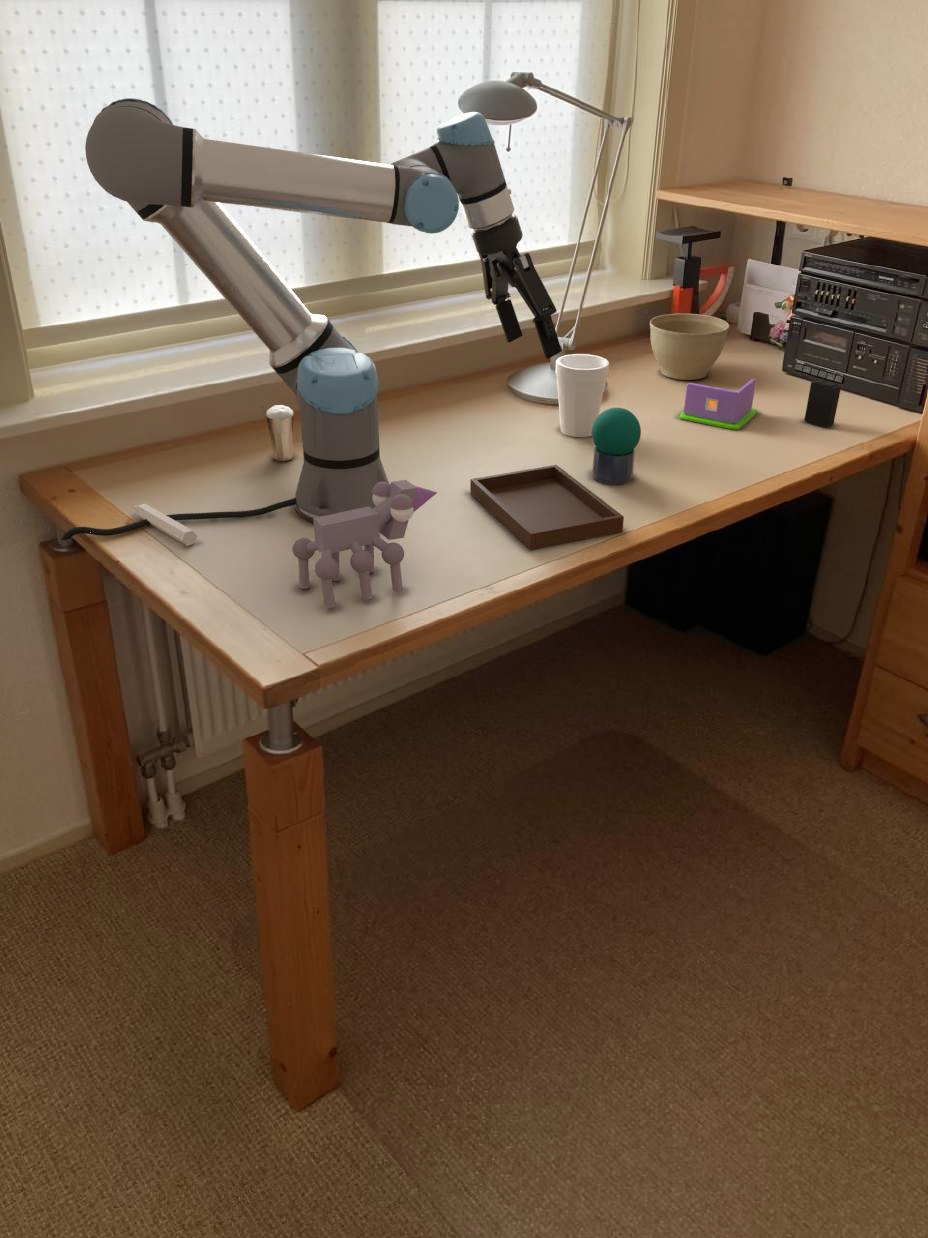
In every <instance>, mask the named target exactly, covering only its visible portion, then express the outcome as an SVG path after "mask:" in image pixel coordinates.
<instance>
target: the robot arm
mask: <svg viewBox="0 0 928 1238" xmlns="http://www.w3.org/2000/svg"><path fill="white" fill-rule="evenodd" d="M436 136H437V139H436V140H437V142H435V143H433V145H431V146H429V147H427V148H424V149H422V150H420V151H417V152H414V153H413V154H410V155H408V156H406V157H403V158H400V159H399V160H396V161H394V162H391V163H379V162H372V161H365V160H357V159H351V158H343V157H338V156H329V155H323V154H322V155H321V154H316V153H309V152H301V151H293V150H287V149H280V148H273V147H265V146H259V145H251V144H244V143H236V142H229V141H223V140H215V139H208V138H205V137H203V136H202V135H201V133H200V132H199V131H198V130H197V129H196V128H191V127H184V126H179V125H175V124H174V123H173V121H172V120H171V118H170V117H169V116H168V115H167V114H166V113H165V112H164V111H163V110H162V109H160V108H158V107H157V105H155V104H153V103H152V102H151V103H150V102H149V101H146V100H143V99H140V98H132V97H131V98H122V99H117V100H115V101H112V102H111V103H109V104H108V105H107V106H105V107H103V108H102V109H101V110H100V112H99V113H97V115H96V116H95V117H94V120H93V122H92V124H91V126H90V128H89V129H88V132H87V135H86V138H85V144H84V148H85V149H84V151H85V159H86V163H87V167H88V170H89V172H90V173H91V175H92V176H93V179H94V180H95V181H96V183H97V184H98V185H99V186H100V187H101V188H102V189H103V190H104V191H105V192H107V193H108V194H109V195H111V196H112V197H114V198H117V199H119V200H121V201H123V202H126V203H127V204H128V205H129V206H130V207H131V209H133V211H134V212H135V213H136V214H137V215H138V216H139V217H140V218H141V219H142V221H143V222H147V223H148V222H149V223H156V224H159V225H161V227H162V228H163V229H164V230H165V231H166V232H167V234H168V235H169V236H170V237H171V238H172V239H173V240H174V242H175V243H176V244H177V245H178V246H179V247H180V248H181V250H182V251H183V252H184V253H185V255H187V257H188V258H189V259H190V260H191V261H192V262H193V264H194V265H195V266H196V267H197V269H199V270H200V271H201V273H202V274H203V275H204V276H205V278H206V279H207V280H208V281H209V282H210V283H211V284H212V285H213V287H214V288H215V289H216V290H217V291H218V293H219V294H221V296H222V297H223V298H224V299H225V301H226V302H227V303H228V304H229V305H230V306H231V307H232V308H233V310H234V311H235V312H236V313H237V314H238V316H240V318H241V319H242V320H243V321H244V323H245V324H246V325H247V326H248V327H249V328H250V329H251V330H252V332H253V333H254V334H255V335H256V337H258V339H259V340H260V341H261V342H262V344H264V346H265V347H266V348H267V349H268V350H269V357H268V364H269V366H270V367H271V368H272V370H274V372H275V373H276V374H277V375H278V376H279V378H280V379H281V380H282V381H283V382H284V383H285V384H286V385H287V387H288V388H289V389H290V390H291V391H292V392H293V394H294V395H295V398H296V402H297V405H298V410H299V416H300V426H301V427H300V429H301V441H302V453H303V464H302V467H301V471H300V474H299V478H298V482H297V485H296V490H295V495H294V497H293V498H290V499H287V500H283V501H280V502H276V503H273V504H270V505H267V506H264V507H260V508H255V509H248V510H239V511H238V510H236V511H235V510H233V511H208V512H188V513H172V514H165V515H166V516H168V517H170V518H171V519H173V520H175V521H189V520H190V521H193V520H211V519H212V520H213V519H238V518H251V517H256V516H262V515H265V514H268V513H272V512H275V511H277V510H280V509H281V510H282V509H285V508H288V507H292V506H295V511H296V513H297V514H298V515H299V516H300V517H301V518H302V519H305V520H306V521H308V522H310V523H314V521H313V518H317V517H322V516H326V515H331V514H336V513H340V512H345V511H350V510H354V509H359V508H364V507H368V506H369V507H371V508H372V509H373V508H374V507H376V506H375V504H374V503H373V499H372V497H373V493H372V489H373V487H374V486H375V485H376V484H377V483H379V482H387V483H389V484H390V482H389V478H388V476H387V474H386V471H385V468H384V466H383V463H382V460H381V454H380V453H381V452H380V423H379V396H378V392H379V387H380V386H379V385H380V384H379V377H378V374H377V368H376V365H375V363H374V362H373V360H372V358H370V357H369V356H368V355H366V354H365V353H364V352H359V351H358V350H357V348H356V347H355V345H354V344H353V343H352V342H351V341H349V340H348V339H347V338H346V337H345V336H343V335H342V334H341V333H340V332H339V331H338V330H337V328H336V327H335V326H334V324H333V323H332V322H331V321H330V320H329V319H328V317H326V315H323V314H313V313H311V312H310V311H309V309H308V308H307V307H306V306H305V304H303V302H302V301H301V300H300V298H299V297H298V296H297V295H296V293H295V292H294V291H293V290H292V289H291V288H290V286H289V285H288V283H286V281H285V280H284V279H283V278H282V277H281V276H280V274H279V272H277V271H276V269H275V268H274V267H273V266H272V264H271V263H270V262H269V260H267V258H266V257H265V256H264V255H263V253H262V252H261V251H260V250H259V248H258V247H257V246H256V245H255V244H254V242H253V241H252V240H251V238H250V237H249V236H248V235H247V234H246V233H245V232H244V230H243V229H242V228H241V227H240V225H238V223H237V222H236V220H235V219H234V218H233V216H231V214H230V213H229V211H227V209H226V208H225V207H224V206H223V204H226V205H234V206H242V207H251V208H260V209H269V210H276V211H277V210H278V211H286V212H293V213H300V214H301V213H302V214H311V215H319V216H326V217H336V218H343V219H351V220H360V221H370V222H378V223H386V224H391V225H396V226H397V225H398V226H405V227H412V228H413V229H415V230H417V231H418V232H421V233H425V234H439V233H441V232H444V231H445V230H447V229H448V228H449V227H451V226H452V224H453V223H454V222H455V220H456V218H457V216H458V214H459V210H460V207H461V210H462V213H463V216H464V219H465V221H466V224H467V227H468V228H469V229H471V231H470V235H471V239H472V241H473V244H474V246H475V247H474V248H475V250H476V253H478V256H479V259H480V263H481V271H482V278H483V279H482V280H483V286H484V295H485V298H486V299H487V300H488V301H489V300H491V303H492V304H493V306H495V310H496V313H497V316H498V318H499V321H500V324H501V327H502V330H503V333H504V336H505V339H506V341H507V343H512V342H513V341H516V340H517V339H519V338H521V337H523V336H524V335H523V331H522V329H521V326H520V323H519V319H518V317H517V314H516V311H515V307H514V305H513V301H512V300H511V299H509V298H511V297H512V295H511V293H510V292H509V285H510V286H511V288H515V289H516V291H517V292H518V294H519V296H520V297H521V298H522V300H523V301H524V303H525V304H526V306H527V307H528V309H529V311H530V312H531V313H532V315H533V319H532V321H531V322H532V323H533V324H534V326H535V329H536V332H537V336H538V339H539V342H540V345H541V348H542V351H543V354H544V357H545V359H546V360H549V359H551V358H553V357H554V356H557V355H558V354H560V353H562V352H563V350H562V345H561V343H560V340H559V337H558V334H557V330H556V328H555V324H554V321H553V318H552V315H554V314H556V313H557V310H558V309H557V308H556V306H555V304H554V302H553V300H552V297H551V296H550V294H549V292H548V291H547V289H546V286H545V285H544V283H543V281H542V278H541V276H540V275H539V273H538V271H537V269H536V267H535V265H534V262H533V259H532V257H531V254H530V253H529V252H526V253H524V254H521V253H520V251H519V249H518V247H517V246H518V244H519V242H521V240H523V236H524V235H523V230H522V228H521V224H520V222H519V218H518V216H517V214H515V213H514V212H515V206H514V202H513V200H512V196H511V194H512V189H511V188H509V186H508V183H507V181H506V178H505V174H504V172H503V171H504V170H503V168H502V164H501V160H500V158H499V153H498V152H497V148H496V145H495V144H496V142H495V140H494V138H493V137H492V133H491V130H490V128H489V125H488V123H487V119H486V118H485V116H484V115H483V114H482V113H481V112H478V111H470V112H465V113H461V114H459V115H457V116H454V117H451V118H449V119H448V120H447V121H444V122H443V123H440V125H438V127H437V129H436ZM147 526H152V525H151V523H150V522H149V521H148V520H147V519H145V520H142V519H140V520H138V521H136V522H133V523H129V524H126V525H123V526H117V527H113V528H97V527H89V526H76V527H72V528H70V529H69V530H67V531H66V532H65V533H64V534H63V535H62V536H61V539H60V540H61V541H67V540H70V539H72V537H74V536H76V535H78V534H85V535H86V534H87V535H93V536H101V537H104V536H105V537H108V536H109V537H110V536H117V535H121V534H125V533H128V532H132V531H134V530H138V529H141V528H143V527H147ZM90 532H91V533H90Z"/></svg>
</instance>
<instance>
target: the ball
mask: <svg viewBox="0 0 928 1238" xmlns="http://www.w3.org/2000/svg"><path fill="white" fill-rule="evenodd" d="M641 434H642V428H641V424H640V422H639V420H638V418H637V416H636V415H635V414H634V413H633V412H632V411H630V410H629V409H626V408H623V407H611V408H607V409H606V410H603V411H602V412H601V413H599V416H598V417H597V418H596V420H595V421H594V423H593V426H592V435H591V440H592V442H593V444H594V447H595V446H596V448H597V449H598V450H599V451H600V452H601V453H604V454H607V455H626V454H628V453H630V452H631V451H633V450H634V449H636V447H637V446H638V444H639V442H640V440H641Z"/></svg>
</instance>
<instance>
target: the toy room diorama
mask: <svg viewBox="0 0 928 1238" xmlns="http://www.w3.org/2000/svg"><path fill="white" fill-rule="evenodd" d="M756 384H757V379H755V378H751V379H750V380H749V381H748V382H746V383H745V384H744V385H743V386H742V387H740V389H738V390H737V391H736V390H732V389H727V388H726V389H725V388H721V387H717V386H716V387H715V386H710V385H706V384H705V385H704V384H699V383H695V382H694V383H693V382H688V383H687V384H686V389H685V397H684V406H683V411H681V413H680V414H679V419H681V420H684V421H689V422H694V423H698V424H703V425H708V426H714V427H717V428H723V429H728V430H735V431H737V430H740V429H741V428H742V427H743V426H745V425H746V424H748V422H749V421H750V420H752V418H753V417H755V416H756V415H757V414H758V409H756V408H754V407H753V403H754V399H755V398H754V396H755V391H756Z"/></svg>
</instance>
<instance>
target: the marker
mask: <svg viewBox="0 0 928 1238" xmlns="http://www.w3.org/2000/svg"><path fill="white" fill-rule="evenodd" d="M132 507H133V508H134V510H135V513H134V514H135V515H136V516H137V517H138V518H139V520H145V519H147V520H148V521H149V522H150V523H151V525H150V526H152V527H153V528H155V529H157V530H159V531H161V532H162V533H164V534H165V535H167V536H169V537H171V538H173V539H174V540H176V541H178V542H179V543H181V544H182V545H184V546H186V547H189V546H192V545H194V544H195V543H196V540H197V537H198V535H197V534H196V533H195V532H194V530H192V529H191V528H189V527H187V526H185V525H184V524H182V523H181V522H178V520H176V521H175V520H173V519H171V518H170V517H168V516H166V515H167V514H164V513H163V512H161V511H159V510H158V509H156V508H155V507H152V506H150V505H149V504H147V503H145V502H144V503H141V504H139V505H133V506H132Z"/></svg>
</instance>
